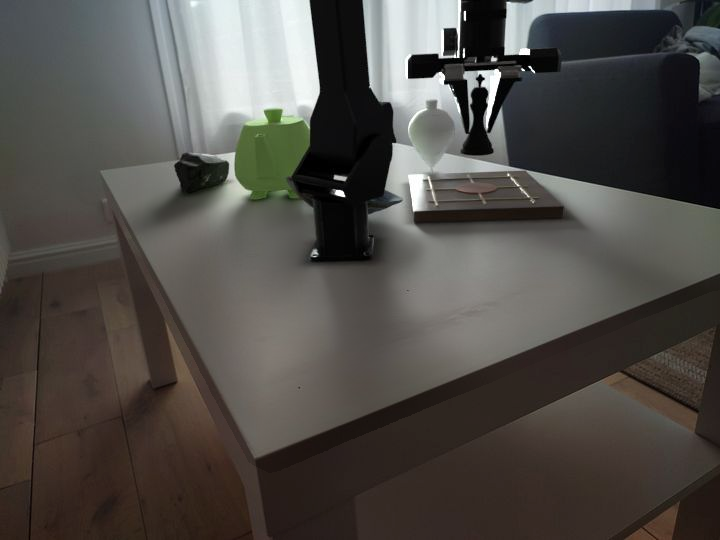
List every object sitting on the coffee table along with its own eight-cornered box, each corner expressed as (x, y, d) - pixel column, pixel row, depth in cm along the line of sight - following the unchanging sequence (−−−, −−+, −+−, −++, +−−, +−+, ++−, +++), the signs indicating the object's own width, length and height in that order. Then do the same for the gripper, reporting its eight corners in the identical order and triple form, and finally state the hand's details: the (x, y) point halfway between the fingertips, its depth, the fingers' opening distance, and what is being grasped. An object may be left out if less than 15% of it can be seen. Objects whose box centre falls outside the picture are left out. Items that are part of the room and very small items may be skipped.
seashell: (276, 236, 63) (272, 195, 61) (292, 207, 75) (288, 171, 73) (404, 231, 63) (404, 189, 61) (400, 202, 74) (399, 166, 72)
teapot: (312, 208, 73) (303, 115, 68) (219, 210, 75) (204, 119, 70) (333, 176, 92) (327, 100, 87) (258, 178, 93) (248, 103, 88)
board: (562, 218, 64) (564, 205, 63) (413, 222, 65) (413, 210, 65) (524, 179, 82) (525, 169, 82) (408, 184, 84) (408, 174, 83)
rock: (162, 186, 90) (155, 152, 88) (207, 176, 96) (202, 144, 94) (192, 196, 84) (186, 160, 81) (239, 184, 89) (234, 150, 87)
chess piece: (477, 148, 74) (480, 72, 70) (500, 152, 71) (505, 73, 67) (453, 152, 72) (455, 74, 68) (475, 157, 68) (479, 75, 65)
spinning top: (463, 173, 88) (465, 98, 84) (425, 180, 85) (425, 103, 80) (436, 166, 95) (436, 96, 90) (400, 172, 91) (398, 100, 87)
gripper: (543, 3, 71) (534, 122, 77) (404, 10, 72) (405, 127, 78) (569, -5, 61) (556, 133, 67) (406, 4, 62) (408, 139, 68)
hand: (477, 133), depth 70 cm, fingers closed on chess piece, 2 cm apart
